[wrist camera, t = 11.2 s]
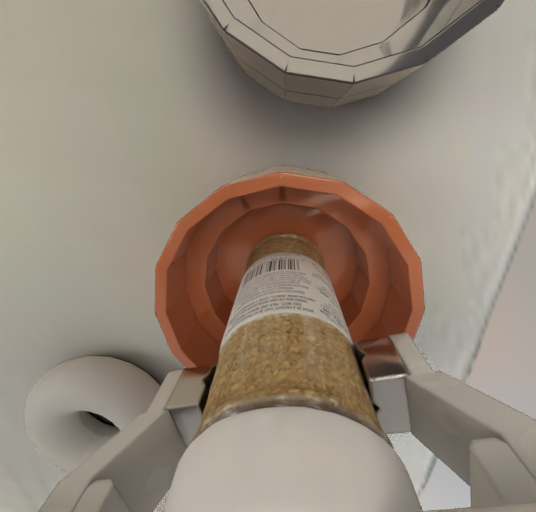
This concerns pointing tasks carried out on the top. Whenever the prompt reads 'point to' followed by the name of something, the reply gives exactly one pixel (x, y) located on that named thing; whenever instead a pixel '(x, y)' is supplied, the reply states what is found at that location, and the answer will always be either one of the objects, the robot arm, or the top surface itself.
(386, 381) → the robot arm
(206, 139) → the top surface
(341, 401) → the sprinkles bottle
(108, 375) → the donut
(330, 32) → the charcoal bowl
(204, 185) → the top surface
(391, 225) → the terracotta bowl
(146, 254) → the top surface
